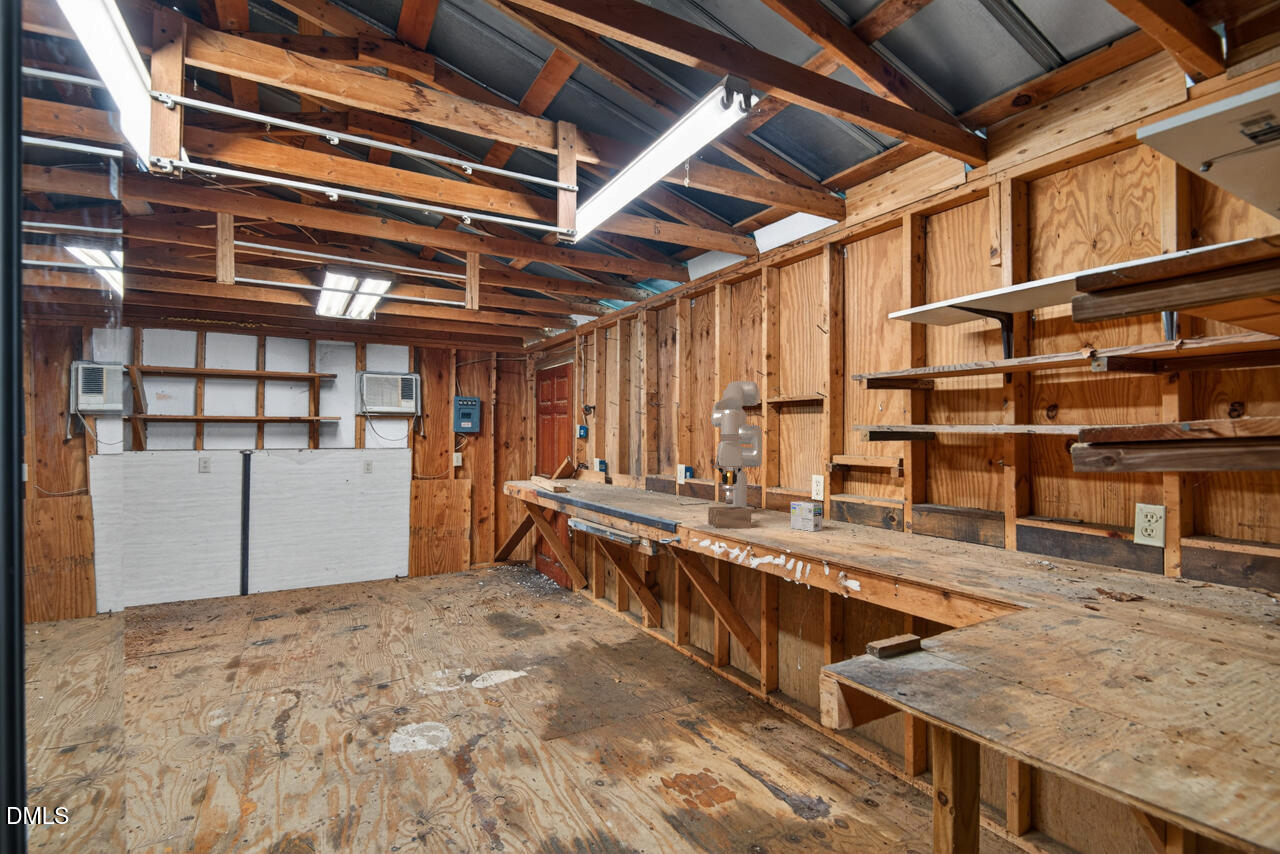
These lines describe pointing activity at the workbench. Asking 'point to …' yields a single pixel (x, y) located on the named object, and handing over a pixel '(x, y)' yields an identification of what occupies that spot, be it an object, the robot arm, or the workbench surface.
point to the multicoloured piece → (729, 487)
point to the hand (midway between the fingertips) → (729, 483)
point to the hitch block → (729, 517)
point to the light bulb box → (806, 516)
